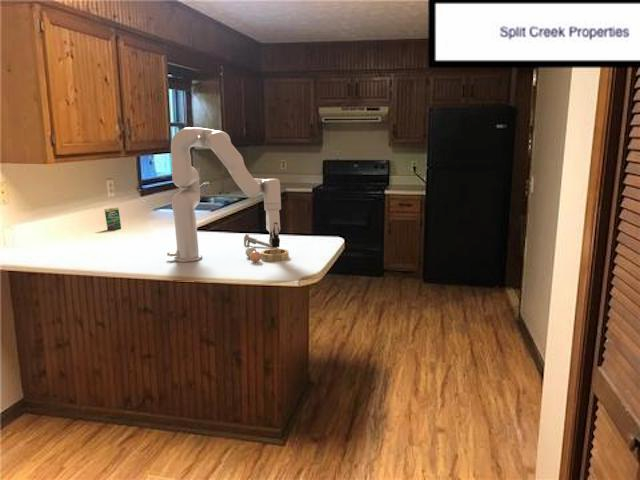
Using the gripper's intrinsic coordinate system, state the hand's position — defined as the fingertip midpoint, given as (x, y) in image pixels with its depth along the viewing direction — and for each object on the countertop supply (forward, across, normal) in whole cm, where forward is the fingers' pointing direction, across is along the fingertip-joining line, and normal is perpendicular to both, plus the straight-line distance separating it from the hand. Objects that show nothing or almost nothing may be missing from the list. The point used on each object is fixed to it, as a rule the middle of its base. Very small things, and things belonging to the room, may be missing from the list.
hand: (274, 245), depth 235 cm
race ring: (+6, 0, 0) cm, 6 cm away
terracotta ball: (+3, +4, -10) cm, 11 cm away
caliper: (+6, -26, -2) cm, 26 cm away
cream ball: (+3, -6, -10) cm, 12 cm away
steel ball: (-2, 0, 0) cm, 2 cm away
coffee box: (+5, -110, -79) cm, 135 cm away
